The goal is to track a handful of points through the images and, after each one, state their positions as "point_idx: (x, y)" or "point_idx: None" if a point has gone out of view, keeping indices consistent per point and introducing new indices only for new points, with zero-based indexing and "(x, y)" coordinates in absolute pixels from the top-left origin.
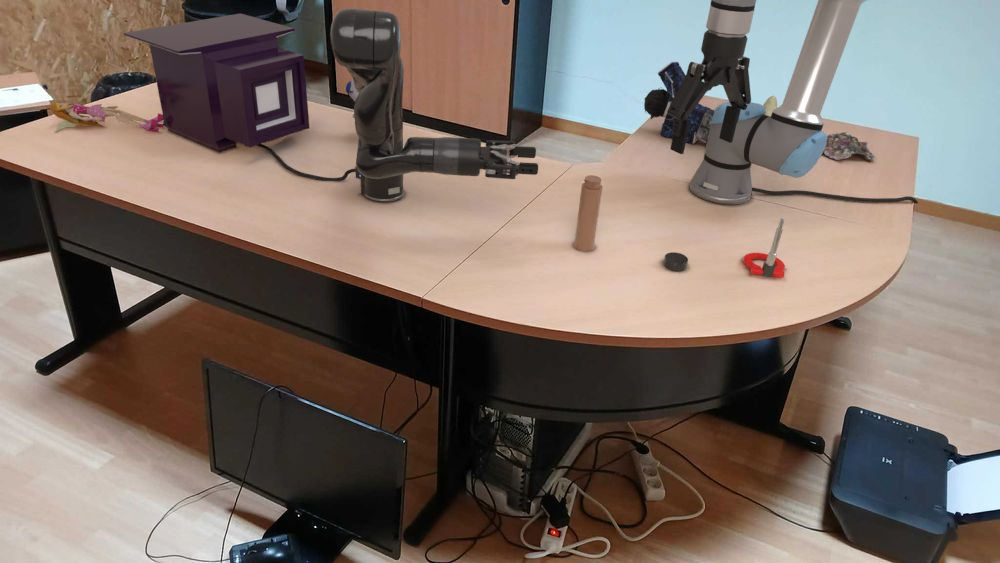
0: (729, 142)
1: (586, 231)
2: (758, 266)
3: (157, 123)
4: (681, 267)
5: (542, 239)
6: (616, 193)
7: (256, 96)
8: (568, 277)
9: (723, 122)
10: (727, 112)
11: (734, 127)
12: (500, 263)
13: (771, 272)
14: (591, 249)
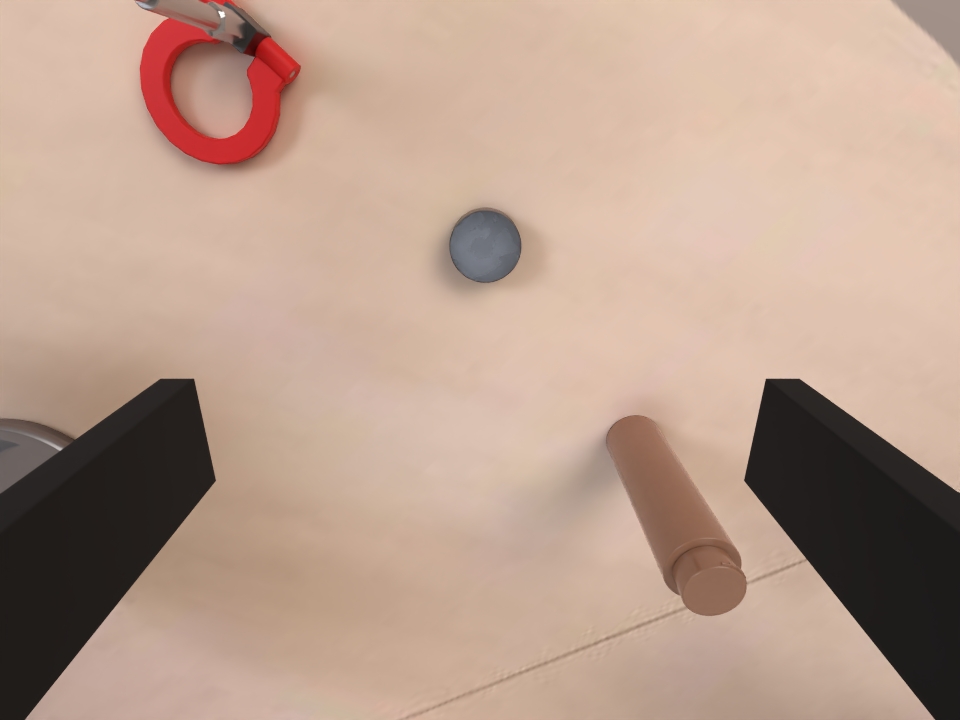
0: (193, 381)
1: (673, 452)
2: (255, 74)
3: None
4: (494, 210)
5: None
6: (343, 603)
7: None
8: (792, 339)
9: (131, 575)
10: (34, 664)
11: (82, 451)
12: None
13: (243, 12)
14: (632, 416)
